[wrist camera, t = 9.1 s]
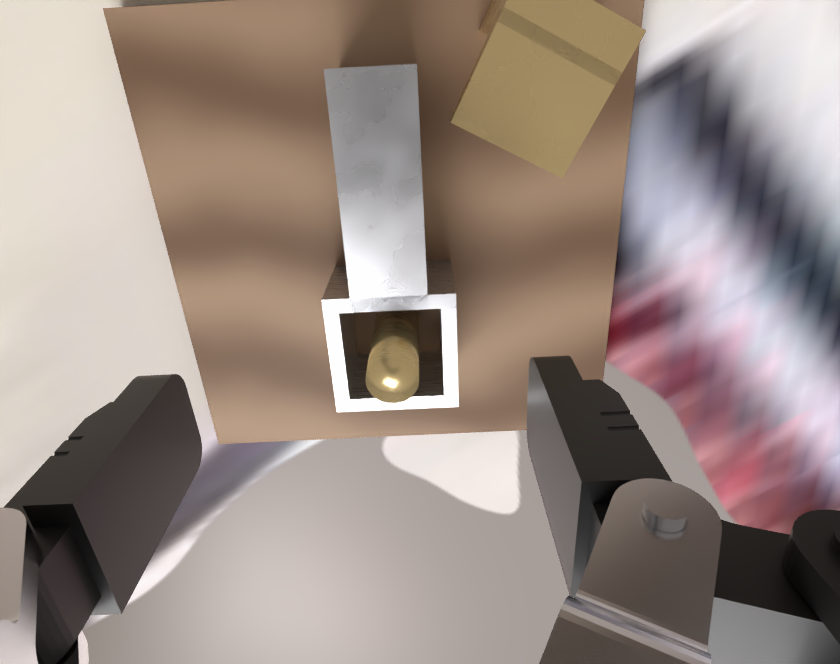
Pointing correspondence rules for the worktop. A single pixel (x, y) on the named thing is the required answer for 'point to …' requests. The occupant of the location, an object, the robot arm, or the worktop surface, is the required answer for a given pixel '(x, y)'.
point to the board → (320, 214)
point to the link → (383, 233)
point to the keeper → (544, 76)
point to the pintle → (394, 356)
